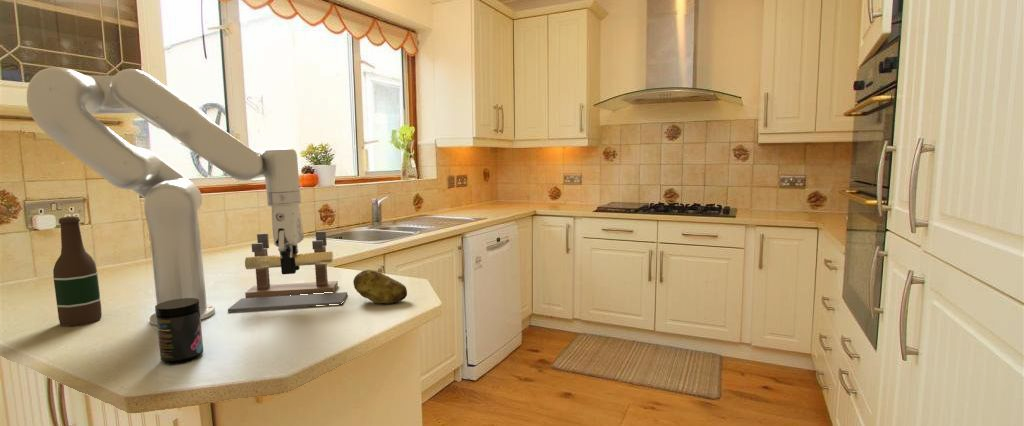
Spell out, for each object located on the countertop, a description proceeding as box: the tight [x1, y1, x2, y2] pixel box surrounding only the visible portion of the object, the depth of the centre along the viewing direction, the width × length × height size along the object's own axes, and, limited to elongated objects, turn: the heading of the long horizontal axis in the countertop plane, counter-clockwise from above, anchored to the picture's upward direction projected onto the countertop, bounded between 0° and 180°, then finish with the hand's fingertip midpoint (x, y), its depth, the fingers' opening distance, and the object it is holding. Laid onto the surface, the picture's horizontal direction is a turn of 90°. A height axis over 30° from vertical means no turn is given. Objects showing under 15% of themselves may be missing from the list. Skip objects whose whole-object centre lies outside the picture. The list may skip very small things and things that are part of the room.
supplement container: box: [154, 298, 204, 365], centre depth 91 cm, size 7×7×10 cm
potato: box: [352, 269, 408, 304], centre depth 124 cm, size 8×13×8 cm, turn 64°
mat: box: [227, 291, 348, 313], centre depth 125 cm, size 9×26×1 cm, turn 100°
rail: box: [244, 251, 334, 270], centre depth 124 cm, size 3×20×3 cm, turn 100°
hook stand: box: [244, 230, 339, 298], centre depth 134 cm, size 7×22×16 cm, turn 100°
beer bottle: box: [52, 216, 103, 327], centre depth 112 cm, size 8×8×24 cm
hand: (290, 271), depth 124 cm, fingers closed on rail, 3 cm apart
